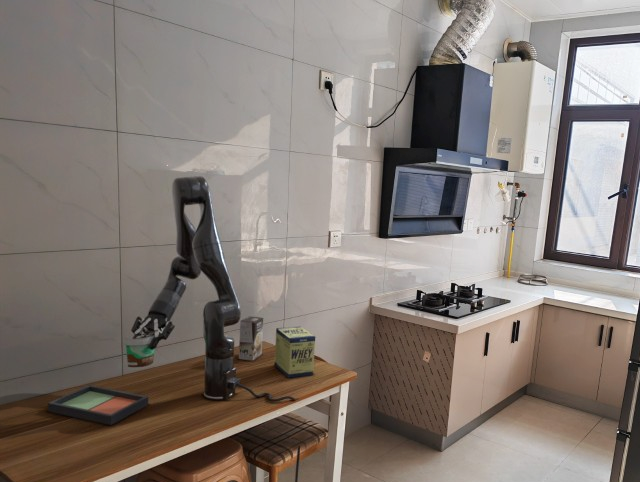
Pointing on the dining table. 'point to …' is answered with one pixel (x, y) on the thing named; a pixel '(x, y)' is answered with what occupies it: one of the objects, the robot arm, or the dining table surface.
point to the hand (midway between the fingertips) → (141, 347)
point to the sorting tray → (98, 404)
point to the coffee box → (250, 338)
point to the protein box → (294, 351)
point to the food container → (140, 350)
